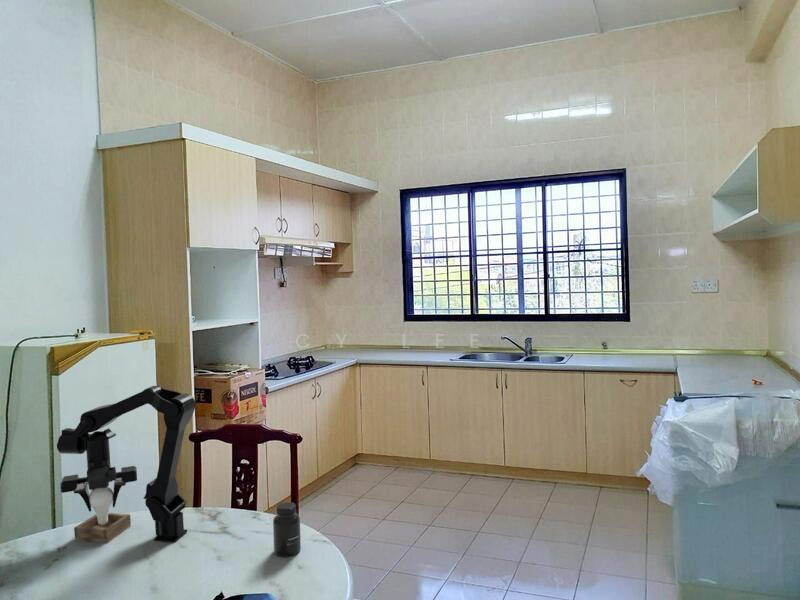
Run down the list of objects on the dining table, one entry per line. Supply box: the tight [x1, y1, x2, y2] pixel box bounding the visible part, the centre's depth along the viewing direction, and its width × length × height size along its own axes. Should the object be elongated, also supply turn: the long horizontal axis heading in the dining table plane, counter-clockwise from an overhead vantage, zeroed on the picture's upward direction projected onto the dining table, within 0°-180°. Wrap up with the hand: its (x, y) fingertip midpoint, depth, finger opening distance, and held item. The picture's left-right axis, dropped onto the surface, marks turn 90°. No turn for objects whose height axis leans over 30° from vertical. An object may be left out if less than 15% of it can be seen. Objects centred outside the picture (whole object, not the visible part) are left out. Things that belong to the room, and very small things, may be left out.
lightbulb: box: [89, 486, 114, 525], centre depth 172 cm, size 6×6×11 cm
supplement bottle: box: [272, 501, 302, 557], centre depth 159 cm, size 7×7×12 cm
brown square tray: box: [73, 512, 132, 544], centre depth 172 cm, size 10×10×4 cm
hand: (102, 509), depth 172 cm, fingers closed on lightbulb, 5 cm apart
